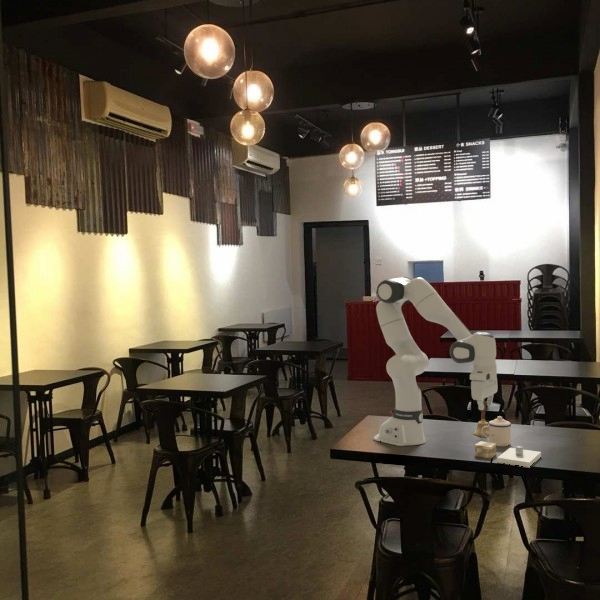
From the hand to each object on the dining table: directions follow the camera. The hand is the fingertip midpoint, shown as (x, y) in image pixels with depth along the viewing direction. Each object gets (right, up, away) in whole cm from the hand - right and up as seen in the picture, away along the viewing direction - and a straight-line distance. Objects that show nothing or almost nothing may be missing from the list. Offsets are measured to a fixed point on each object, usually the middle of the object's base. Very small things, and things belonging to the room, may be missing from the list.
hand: (485, 407), depth 248 cm
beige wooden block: (0, -19, +1) cm, 19 cm away
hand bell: (+9, -18, +33) cm, 39 cm away
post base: (+11, -19, -6) cm, 23 cm away
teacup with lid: (+10, -19, +17) cm, 27 cm away
